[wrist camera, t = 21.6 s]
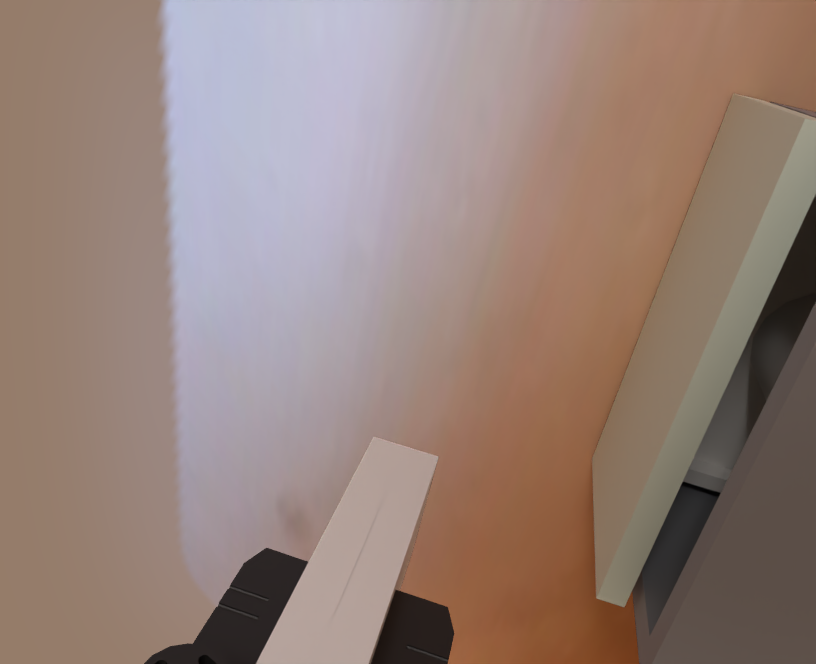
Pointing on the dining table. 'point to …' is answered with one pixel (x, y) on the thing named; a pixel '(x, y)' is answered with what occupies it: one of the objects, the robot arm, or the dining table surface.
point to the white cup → (778, 340)
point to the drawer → (706, 333)
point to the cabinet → (743, 543)
